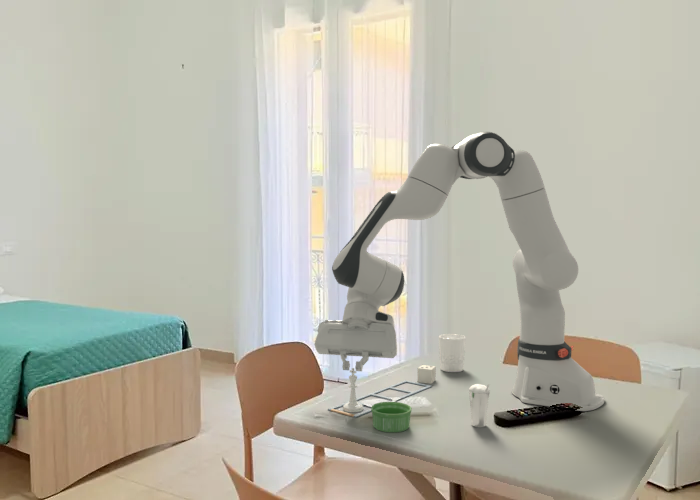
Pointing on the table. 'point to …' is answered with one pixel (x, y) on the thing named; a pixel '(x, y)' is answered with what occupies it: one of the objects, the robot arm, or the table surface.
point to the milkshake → (479, 404)
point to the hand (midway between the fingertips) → (352, 369)
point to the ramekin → (391, 416)
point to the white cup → (452, 352)
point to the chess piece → (352, 396)
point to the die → (426, 374)
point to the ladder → (380, 397)
